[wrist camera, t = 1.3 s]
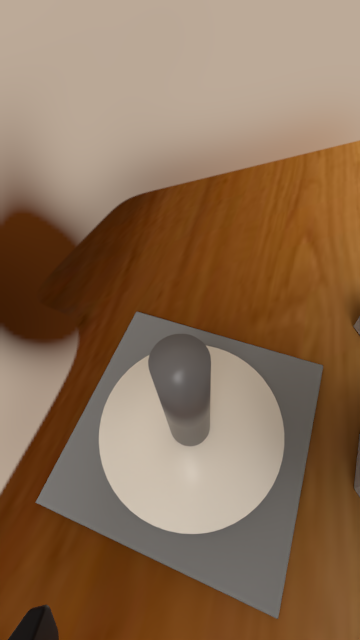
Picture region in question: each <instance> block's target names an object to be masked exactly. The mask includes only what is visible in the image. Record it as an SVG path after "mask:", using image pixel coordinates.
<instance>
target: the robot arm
mask: <svg viewBox="0 0 360 640" xmlns="http://www.w3.org/2000/svg"><path fill="white" fill-rule="evenodd" d="M8 640H59V636H58V629H57V626H56V623H55V621H54V618H53V615H52V612H51V609H50V607H49V606H48V605H42V606H38V607H35V608H32V609H30V610H29V611H28V612H27V614H26V615H25V616H24V618H23V619H22V621H21V622H20V623H19V625H18V626H17V628H16V629H15V630H14V632H13V633H12V635H11V636H10V637H9V639H8Z"/></svg>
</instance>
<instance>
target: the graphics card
mask: <svg viewBox="0 0 360 640" xmlns="http://www.w3.org/2000/svg"><path fill="white" fill-rule="evenodd" d="M353 327H354V328H355V329H356V331H357V332H358V333H359V335H360V317H359V318H358V320H357V321H356V323H355V325H354V326H353Z"/></svg>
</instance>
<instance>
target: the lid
mask: <svg viewBox="0 0 360 640" xmlns="http://www.w3.org/2000/svg"><path fill="white" fill-rule="evenodd" d="M99 450H100V457H101V462H102V466H103V469H104V472H105V474H106V477H107V480H108V481H109V483H110V485H111V487H112V489H113V491H114V492H115V493H116V495H117V496H118V497H119V499H120V500H121V502H122V503H123V504H124V505H125V506H126V507H127V508H128V509H129V510H130V511H131V512H133V513H134V514H135V515H137V516H138V517H139V518H141V519H142V520H144V521H146V522H148V523H149V524H151V525H153V526H155V527H158V528H161V529H164V530H166V531H171V532H176V533H181V534H201V533H209V532H213V531H217V530H220V529H223V528H225V527H228V526H230V525H232V524H234V523H236V522H238V521H239V520H241V519H242V518H244V517H245V516H247V515H248V514H249V513H250V512H251V511H253V510H254V509H255V508H256V507H257V506H258V505H259V504H260V503H261V501H262V500H263V499H264V498H265V497H266V495H267V494H268V492H269V491H270V489H271V487H272V486H273V484H274V482H275V480H276V477H277V475H278V473H279V470H280V466H281V463H282V459H283V452H284V426H283V420H282V416H281V412H280V408H279V406H278V403H277V401H276V398H275V396H274V395H273V393H272V391H271V389H270V387H269V386H268V385H267V383H266V382H265V380H264V379H263V378H262V377H261V376H260V375H259V374H258V372H257V371H256V370H255V369H253V368H252V367H251V366H250V365H249V364H248V363H246V362H245V361H243V360H242V359H240V358H239V357H237V356H235V355H233V354H231V353H229V352H227V351H224V350H221V349H219V348H215V347H211V346H206V345H205V344H204V343H203V342H202V341H201V340H199V339H198V338H196V337H194V336H192V335H188V334H173V335H169V336H167V337H165V338H163V339H161V340H160V341H159V342H158V343H157V344H156V345H155V346H154V347H153V349H152V350H151V352H150V355H148V356H146V357H145V358H143V359H142V360H140V361H139V362H137V363H136V364H135V365H133V366H132V367H131V368H130V369H129V370H128V371H127V372H126V373H125V374H124V375H123V376H122V377H121V378H120V380H119V381H118V382H117V384H116V385H115V386H114V388H113V390H112V392H111V393H110V395H109V397H108V399H107V402H106V404H105V406H104V410H103V413H102V417H101V422H100V428H99Z"/></svg>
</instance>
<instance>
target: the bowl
mask: <svg viewBox="0 0 360 640" xmlns="http://www.w3.org/2000/svg"><path fill="white" fill-rule="evenodd" d="M354 489H355V491H356V492H357V494H358V495H359V497H360V436H359V445H358V454H357V463H356V473H355V482H354Z"/></svg>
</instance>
